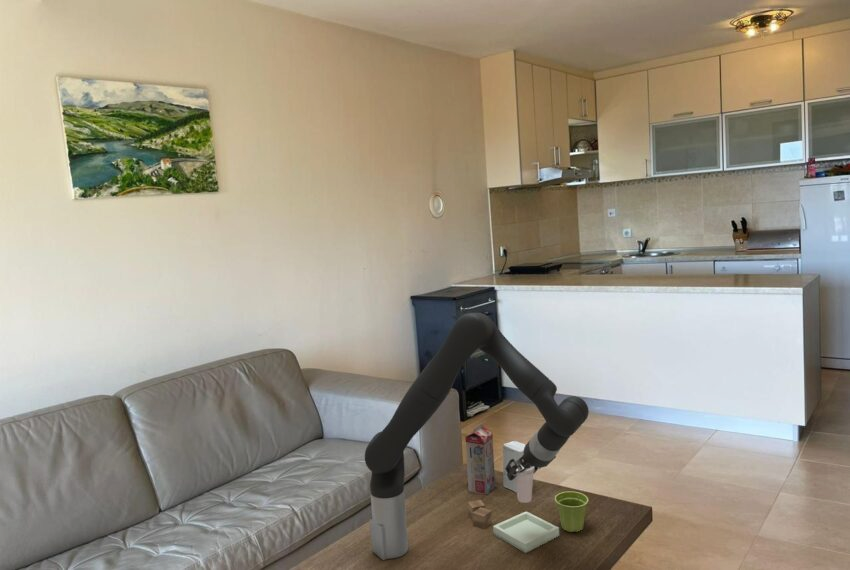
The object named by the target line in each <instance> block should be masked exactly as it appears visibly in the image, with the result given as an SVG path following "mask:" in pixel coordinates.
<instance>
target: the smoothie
mask: <svg viewBox="0 0 850 570" xmlns="http://www.w3.org/2000/svg"><path fill="white" fill-rule="evenodd" d="M522 455H523V451H521V457H522ZM521 466H522V465H521ZM522 468H523V466H522ZM523 469H524V468H523ZM516 471H518V469H516ZM534 471H535V469H534V467H533V468H531V469H528V470H527V471H525V472H524V473H519V474H518V475H517V476H516V477H515V478H514V480H515V486H516V491H517V493H516V495H517V501H518V502H519V503H524V504H528V503H530V502H531V501H532V497H533V496H532V495H533V484H534V483H533V482H534V474H533V472H534Z"/></svg>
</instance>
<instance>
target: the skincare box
mask: <svg viewBox="0 0 850 570" xmlns="http://www.w3.org/2000/svg"><path fill="white" fill-rule="evenodd" d="M525 445H526V444H525V443H523V442H519V441H517V440H513V441H509V442H507V443H503V445H502V448H503V449H502V450H503V451H502V456H503V458H502V459H503V460H502V463H503V464H502V465H503V466H502V467H503V468H502V469H503V470H502V471H503V472H502V475H503V476H502V480H503V482H502V483H503V484H502V485H503V487H504V488H506V489H508V490H509V491H513V492H515V493H516V494H517V491H516V486H515V480H514V479H513V480H511V481H510V480H509V479H508V476H507V471H506V469H505V468H506V466H507V464H508V463H509V461H510V460H511V459H514V461H517V460H518V459H519V458H521V451H523V454H524V447H525Z"/></svg>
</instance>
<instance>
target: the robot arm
mask: <svg viewBox="0 0 850 570" xmlns="http://www.w3.org/2000/svg"><path fill="white" fill-rule="evenodd" d="M477 350H480V351H482V352H483V353H484V354H486V355H488V356H489V358H491V359H492V360H493V361H494V362H495V363H496V364H497V365H498V366H500V368H501V370H503V372H504V373H505V375H506V376H507V377H508V379H509V380H510V381H511V382H512V383H513V385H514V386H515V387H516V388H517V389H518V390H519V391H520V392H521V393H522V394H523V395H524V396H526V397H527V398H528V399H529V400H530V402H532V403H533V404H534V406H536V408H537V409H538V411H539V412H540V414H541V415H542V418H544V421H545V422H544V423H543V424H542V425H541V426H540V428H539V429H538V430H537V431H535V433H534V434H533V435H532V437H531V438H530V439H529V441H528V442H527V443H526V444H525V447H524V454H523V455H522V457H521V458H519V459H518V460H517V461H514V459H511V460H510V461H509V463H508V464H507V466H506V468H505V469H506V471H507V476H508V479H509V480H510V481H511V480H513V479H514V478H515V477H516V476H517V475H518V474H519V473H524V472H525V471H527V470H528V469H531V468H533V467H534V469H535V471H534V472H533V475H535V474H536V472H537V471H538V470H541V469H542V468H546V467H547V466H549V464H550V463H552V462H553V461H554V460H555V459H556V457H557V455H558V453H559V452H560V450H561V449H562V447H564V446H565V444H566V443H567V441H568V440H569V439H570V437H571V436H573V435H574V434H575V433H576V432H577V430H579V428H580V427H582V425H583V424H584V423H585V422H586V420H587V419H588V417H589V412H590V411H589V407H588V404H587V402H586V401H585V400H584V399H583V398H582V397H579V396H568V397H566V398H564V399H563V400H562V401H561V402H560V404H559V405H558V403H557V402H556V400H555V398H554V397H555V396H556V393H557V391H558V388H557V387H558V386H557V385H556V384H555V382H553V381H552V380H551V379H550V378H549V377H547V375H546V374H545V373H543V372H542V371H541V370H540V369H539V368H538V367H536V366H535V365H534V364H533V363H532V362H531V361H529V360H528V358H526V357H525V356H524V355H523V354H522V353H521V352H520V351H519V350H517V348H516V347H514V346H513V344H512V343H511V342H510V341H509V340H508V338H506V337H505V335H504V334H503V333H502V332H501V330H500V329H499V328H498V327H497V326H496V324H495V322H494V321H493V320H492V319H491V317H489V316H488V315H486V314H485V313H482V312H467V313H465V314H463V315H461V316H460V317H459V318H458V319H457V320H456V321H455V322H454V325H453V326H452V328H451V329H450V331H449V333H448V335H447V336H446V338H445V340H444V342H443V344H441V347H440V348H439V350H438V351H437V353H436V354H435V355H434V356H433V357H432V359H430V361H429V362H428V363H427V365H426V366H425V367H424V369H422V371H421V372H420V373H419V374H418V376H417V377H416V378H415V380H414V381H413V383H412V384H411V385H410V387H409V388H408V389H407V391H406V393H405V394H404V396H403V398H402V399H401V401H400V403H399V404H398V406H397V408H396V410H395V412H393V413H394V414H393V416H392V417H391V419H390V421H389V422H388V423H387V424H386V426H385V427H384V428H383V429H382V430H381V431H379V432H377V433H375V434H374V436H373V437H372V438H371V440H370V442H369V443H368V444H367V446H366V448H365V451H364V461H365V462H364V463H365V465H366V467H367V469H368V470H369V471H371V477H370V482H369V491H370V502H371V517H372V518H369V527H370V528H369V529H370V539H371V541H370V542H371V552H372V551H373V553H374V554H375V555H377V556H378V558H380V559H381V560H383V561H385V560H388V559H389V560H391V559H396V558H400V557H403V555H405V554H407V552H408V550H409V543H408V542H409V541H408V530H407V529H408V527H407V512H406V499H405V498H406V496H405V487H404V486H405V485H404V484H405V472H406V471H405V456H404V455H405V453H404V451H405V450H406V448H407V446H408V444H409V443H410V442H411V441H412V439H413V437H414V436H415V435H416V434H417V433H418V432H419V431H420V430H421V429H422V428H423V427H424V425H426V424H427V422H428V421H429V420H430V419H431V417H433V415H434V414H435V413H436V411H437V410H438V409H439V407H440V406H441V405H442V404H443V402H444V401H445V400H446V398H447V396H448V395H449V394H450V391H451V390H452V388H453V386H454V383H455V380H456V379H457V376H458V373H459V371H460V370H461V369H462V368H463V366H464V364H465V363H466V362H467V361H468V360H469V358H470V357H471V356H472V355H473V354H474V353H475V352H476V351H477ZM521 465H522V466H523V468H524V469H523V468H522V466H521ZM516 469H518V471H516Z"/></svg>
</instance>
